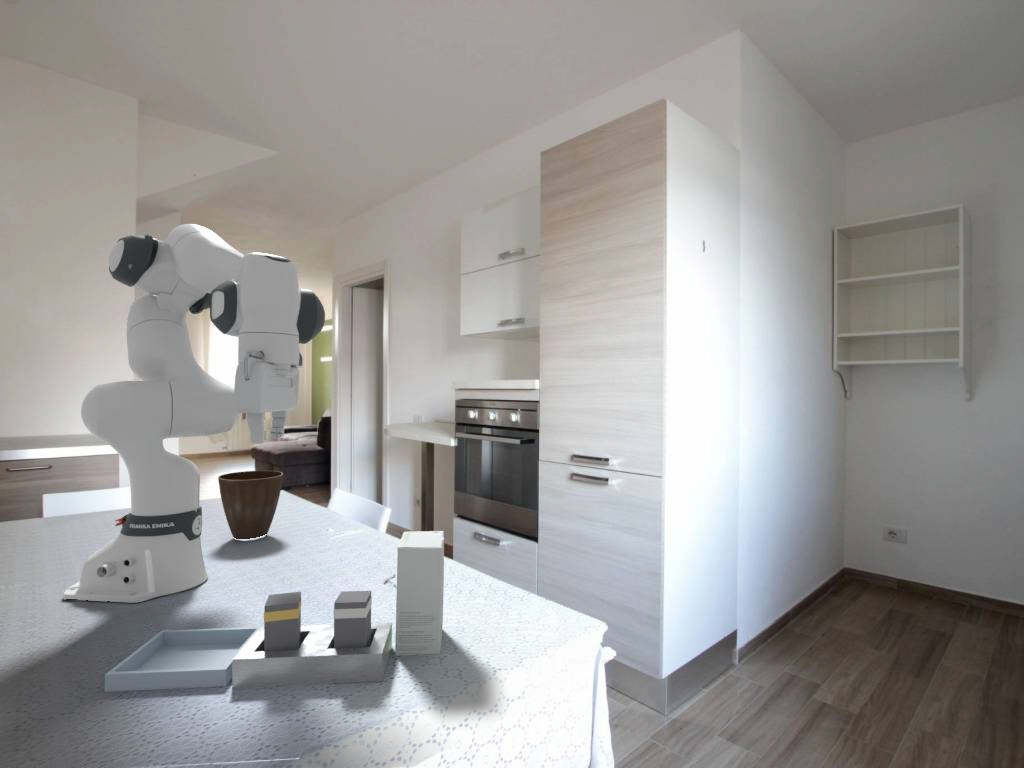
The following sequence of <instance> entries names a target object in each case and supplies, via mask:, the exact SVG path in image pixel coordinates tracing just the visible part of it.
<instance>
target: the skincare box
mask: <svg viewBox="0 0 1024 768" xmlns="http://www.w3.org/2000/svg"><path fill="white" fill-rule="evenodd" d="M396 561H397V563H396V564H397V565H396V601H395V602H396V604H395V607H396V608H395V609H396V610H395V644H394V645H395V648H394V649H395V650H394V652H395V653H394V655H395V656H412V655H413V656H415V655H416V656H417V655H434V654H435V655H436V654H440V653H441V649H442V639H443V623H444V622H443V620H444V586H445V583H444V582H445V531H444V530H429V531H428V530H427V531H426V530H425V531H423V530H422V531H419V530H418V531H416V530H415V531H411V530H410V531H403V533H402V535H401V537H400V540H399V543H398V545H397V560H396Z"/></svg>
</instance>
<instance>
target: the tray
mask: <svg viewBox="0 0 1024 768" xmlns="http://www.w3.org/2000/svg"><path fill="white" fill-rule="evenodd" d="M261 627H262V626H246V627H245V626H244V627H243V626H242V627H218V628H216V627H215V628H195V629H194V628H191V629H165V630H160V631H159V632H158V633H157V634H155V635H154V636H153V637H151V638H150V639H149V640H147V641H146V642H145V643H143V644H142V645H141V646H140V647H138V648H137V649H136V650H135V651H133V652H132V653H131V654H129V655H128V656H127V657H125V658H124V659H123V660H122V661H120V662H119V663H118V664H117V665H115V666H114V667H112V669H110V670H108V672H106V673H105V674H104V692H109V693H110V692H126V691H127V692H128V691H146V690H147V691H149V690H151V691H153V690H167V689H168V690H169V689H188V688H189V689H192V688H194V689H195V688H211V687H213V688H214V687H226V686H227V685H228V684H229V683H230V682H231V680H232V667H233V658H234V657H235V656H236V655H237V654H238V653H239V652H240V650H241V649H242V648H243V647H244V646H245V645H246V644H247V643H248V641H249V640H250V639H251V638H252V637H253V636H254V635H255V633H256V632H257V631H258V630H259V629H260V628H261Z"/></svg>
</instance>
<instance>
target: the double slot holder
mask: <svg viewBox="0 0 1024 768" xmlns="http://www.w3.org/2000/svg"><path fill="white" fill-rule="evenodd" d="M260 627H261V628H260V629H259V630H258V631H257V632H256V633H255V635H254V636H253V637H252V638H251V639H250V640H249V641H248V643H247V644H246V645H245V646H244V647H243V648H242V649H241V650H240V652H239V653H238V654H237V655H236V656H235V657H234V658H233V667H232V679H231V680H232V682H231V686H232V687H231V688H232V689H239V688H240V689H241V688H258V687H259V688H261V687H262V688H264V687H280V686H281V687H283V686H286V687H287V686H301V685H303V686H305V685H324V684H327V685H328V684H332V685H342V684H344V685H345V684H363V683H364V684H366V683H367V684H369V683H382V682H383V680H384V676H385V673H386V669H387V665H388V663H389V659H390V655H391V652H392V648H393V622H373V623H372V622H371V646H370V647H359V648H334V624H315V625H313V624H311V625H309V624H308V625H301V644H300V647H299V649H298V650H285V651H264V626H260Z"/></svg>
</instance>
